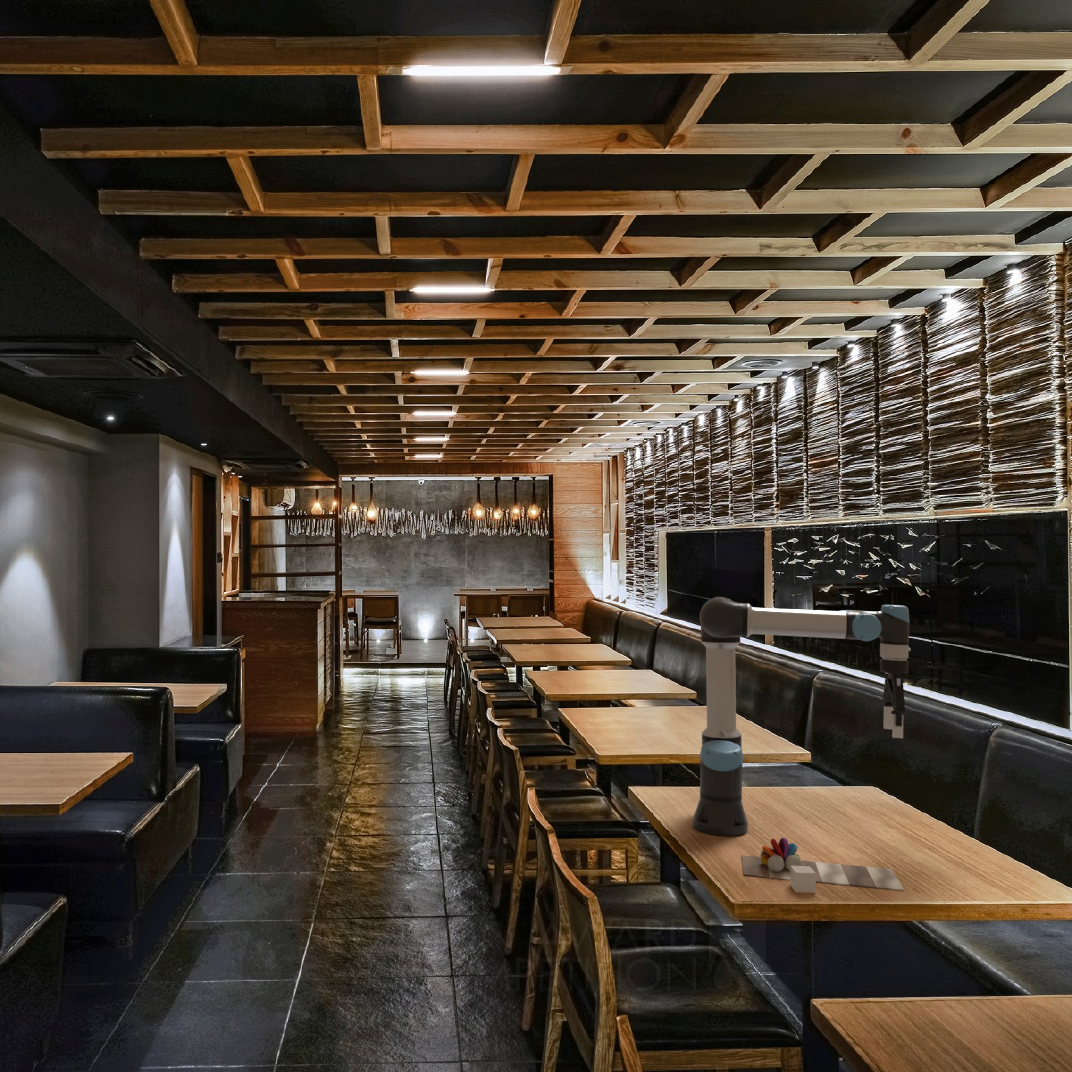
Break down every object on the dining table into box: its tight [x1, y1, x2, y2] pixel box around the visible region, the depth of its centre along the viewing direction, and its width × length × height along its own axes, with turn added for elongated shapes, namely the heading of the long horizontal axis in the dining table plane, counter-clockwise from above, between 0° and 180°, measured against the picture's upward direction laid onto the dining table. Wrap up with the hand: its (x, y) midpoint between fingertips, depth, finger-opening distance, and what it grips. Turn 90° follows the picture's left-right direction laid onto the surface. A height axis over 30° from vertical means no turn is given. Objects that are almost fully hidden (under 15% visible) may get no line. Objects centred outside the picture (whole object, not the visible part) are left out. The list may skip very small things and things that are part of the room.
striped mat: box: [741, 854, 905, 892], centre depth 207 cm, size 36×14×1 cm, turn 79°
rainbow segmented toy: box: [760, 837, 802, 872], centre depth 209 cm, size 8×10×7 cm
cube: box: [789, 866, 817, 894], centre depth 196 cm, size 4×4×4 cm
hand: (893, 733), depth 244 cm, fingers open, 13 cm apart
